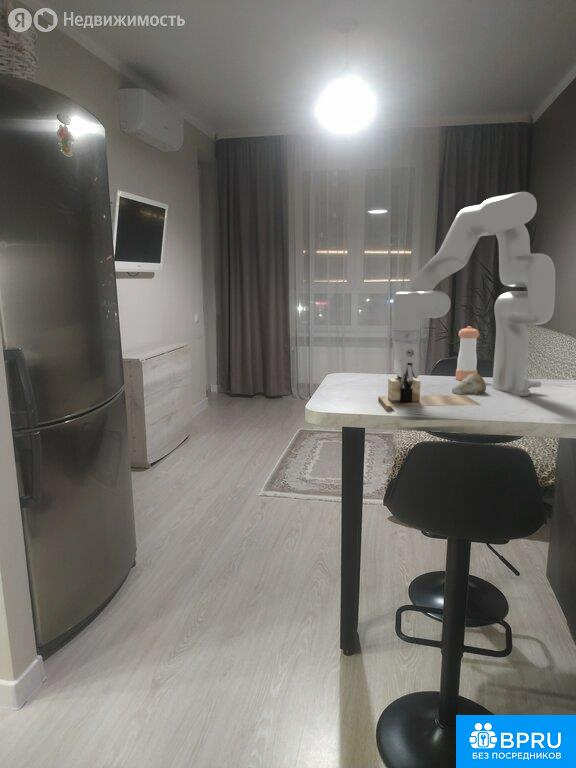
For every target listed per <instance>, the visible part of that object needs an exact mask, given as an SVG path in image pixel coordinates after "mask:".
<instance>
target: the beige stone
mask: <svg viewBox="0 0 576 768" xmlns="http://www.w3.org/2000/svg"><path fill="white" fill-rule="evenodd" d="M486 390H487V385H486V382H485V380H484V378H483V377H482V376H481V375H480V374H478V373H477V374H475V373H473V374H469V375H468V376H466V377H465V378H464V379H463V380H462V381H460V382H459V383H458V384H456V385H454V386H452V388H451V393H453V394H454V395H455V394H456V395H467V394H474V395H479V394H483V393H486Z"/></svg>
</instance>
